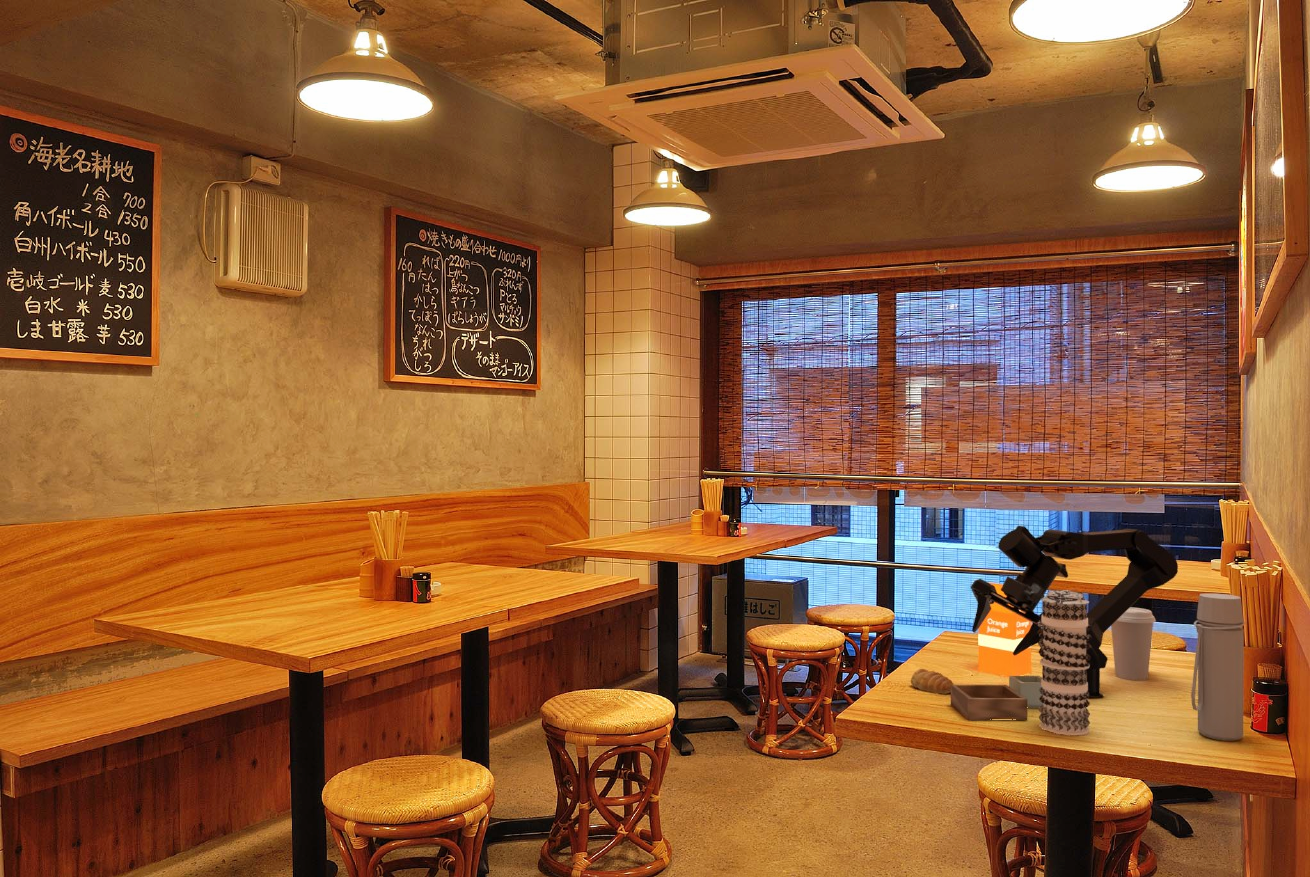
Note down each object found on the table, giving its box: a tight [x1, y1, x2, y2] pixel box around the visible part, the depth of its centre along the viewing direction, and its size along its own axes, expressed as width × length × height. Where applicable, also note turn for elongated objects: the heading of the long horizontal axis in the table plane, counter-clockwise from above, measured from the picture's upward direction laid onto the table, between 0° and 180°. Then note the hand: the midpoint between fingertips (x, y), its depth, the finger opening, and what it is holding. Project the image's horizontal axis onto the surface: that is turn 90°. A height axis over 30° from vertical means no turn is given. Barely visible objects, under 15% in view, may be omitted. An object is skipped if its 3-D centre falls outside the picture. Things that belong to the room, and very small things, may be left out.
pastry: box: [910, 668, 955, 695], centre depth 205 cm, size 9×7×4 cm
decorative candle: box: [1037, 589, 1093, 736], centre depth 177 cm, size 9×9×25 cm
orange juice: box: [977, 582, 1033, 678], centre depth 221 cm, size 8×9×20 cm
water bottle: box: [1190, 592, 1246, 742], centre depth 173 cm, size 9×8×25 cm
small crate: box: [1008, 675, 1043, 709], centre depth 194 cm, size 6×6×5 cm
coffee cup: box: [1110, 606, 1157, 681], centre depth 217 cm, size 10×10×15 cm
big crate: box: [950, 684, 1028, 721], centre depth 188 cm, size 11×11×4 cm
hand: (993, 642), depth 195 cm, fingers open, 9 cm apart
